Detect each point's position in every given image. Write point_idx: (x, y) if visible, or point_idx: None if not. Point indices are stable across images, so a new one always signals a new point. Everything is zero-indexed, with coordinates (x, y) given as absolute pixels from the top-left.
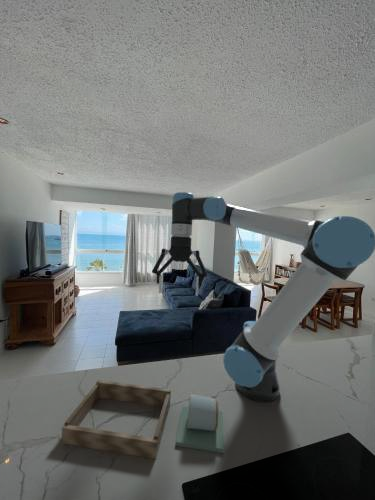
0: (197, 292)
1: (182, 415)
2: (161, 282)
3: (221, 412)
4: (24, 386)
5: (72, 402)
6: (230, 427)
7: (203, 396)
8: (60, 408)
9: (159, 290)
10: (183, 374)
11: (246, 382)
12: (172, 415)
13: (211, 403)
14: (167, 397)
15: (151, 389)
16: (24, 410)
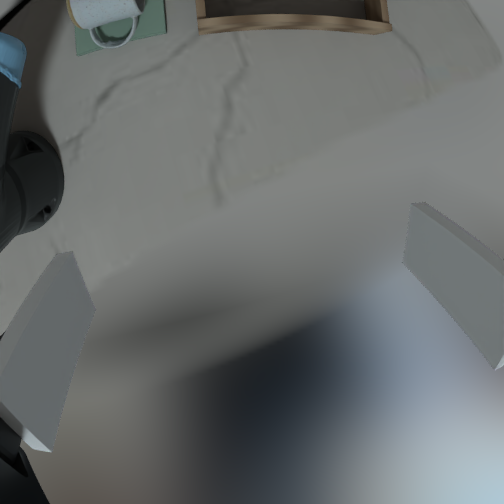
0: (46, 273)
1: (159, 8)
2: (471, 264)
3: (77, 52)
4: (488, 59)
5: (404, 15)
6: (63, 34)
7: (99, 4)
8: (411, 2)
9: (434, 211)
10: (197, 155)
11: None
12: (184, 11)
13: None
14: (199, 6)
15: (250, 15)
16: (452, 3)
